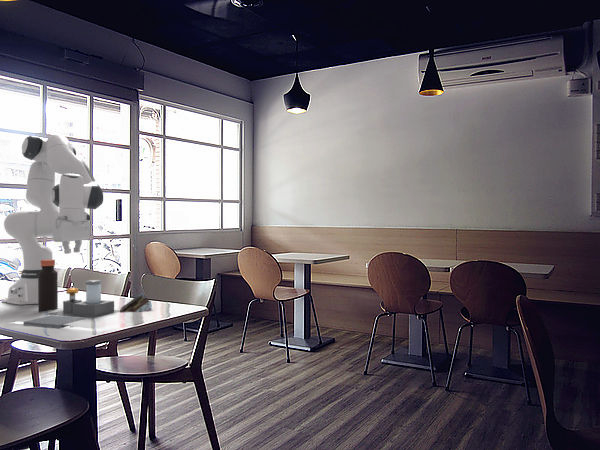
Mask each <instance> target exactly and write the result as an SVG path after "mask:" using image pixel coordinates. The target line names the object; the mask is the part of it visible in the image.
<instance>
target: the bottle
mask: <svg viewBox="0 0 600 450" xmlns="http://www.w3.org/2000/svg"><path fill="white" fill-rule="evenodd" d="M55 266H56V260H55V259H52V260H41V267H42V270H41V271H40V272H39V273H38V304H37V306H38V307H37V311H38V312H39V313H44V312H47V311H48V312H49V311H54V310H57V309H59V307H58V302H59V301H58V295H59V292H58V290H59V289H58V286H59V283H58V271H57V270H55Z"/></svg>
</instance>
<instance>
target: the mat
mask: <svg viewBox="0 0 600 450" xmlns="http://www.w3.org/2000/svg"><path fill="white" fill-rule="evenodd" d="M86 319H88V318H81V317H70V316H59V315H49V316H43V317H38V318H35V319H29V320H26V321H23V325H24V326H35V327H42V328H43V327H45V328H56V329H63V328H67V327H70V326H71V325H67V324H71V323H75V322H79V321H83V320H86Z"/></svg>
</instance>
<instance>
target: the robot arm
mask: <svg viewBox="0 0 600 450" xmlns="http://www.w3.org/2000/svg"><path fill="white" fill-rule="evenodd" d="M21 153H22V156H23V157H24V158H26V159H28V160H30V161H34V162H32V163H31V165H30V167H29V170H28V175H27V179H26V190H25V191H26V192H25V199H26V201H27V202H28V203H29V204H30V205H32V206H34V207H36V208H39V209H40V211H39V210H38V211H17V212H16V211H15V212H10V213H8V215H6V217H5V219H4V221H3V227H4V230H5V232H6V233H7V234H8V235H9V236H11V237H12V238H13V239H14V240H16V242H17V243H18V244H19V246H20V248H21V250H22V257H23V269H22V270H19V271H18V272H19V273H18V274H19V275H20V274H21V275H20V278H19V279H17V281H16V282H15V283H14V284H12V285H11V286H10V287H9V288H8V293H7V297H6V298H3V299H1V302H2V303H6V302H7V303H6V304H13V305H32V304H33V305H36V304H37V305H38V273H39V272H40V271H41V270H42V267H41V260H53V251H52V249H51V248H50V247H48V246H46V245H44V244H41V243H40V242H39V241H38V239H37V238H39V237H40V238H42V237H43V238H47V237H48V238H50V237H51V238H52V240H53V242H55V243H61V244H62V247H63V250H64V252H63V253H64V254H67V255H68V254H71V253H72V249H71V248H70V242H74V245H75V246H74V247H73V253H80V252H81V246H82V245H83V244H82V243H83V241H88V240H89V239H90V238H91V228H92V227H91V221H92V215H90V214H88V212H86V209H88V210H96V209H98V208H99V207H100V206H101V205H103V202H104V193H103V189H102V188H101V186H100V185H99V184H98V183H97V181H96V179H95V177H94V175H93V174H92V172H91V170H90V168H89V167H88V165H87V163H86V162H85V161H83V159H82V160H81V159H80V158H79V157H77V151H76V148H75V147H74V146H72V144H71V142H70V140H69V139H68V138H67V137H66V136H64V135H63V134H59V133H55V134H51V135H49V136H48V138H44V137H40V136H37V135H29V136H27V137H26V138H25V139H24V141H23V142H22V144H21ZM56 174H59V175H60V181H59V183H58V184H56V185H55V183H56V177H55V175H56Z"/></svg>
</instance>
